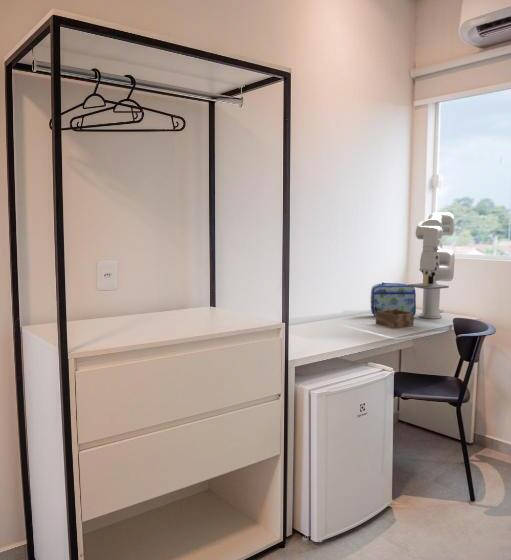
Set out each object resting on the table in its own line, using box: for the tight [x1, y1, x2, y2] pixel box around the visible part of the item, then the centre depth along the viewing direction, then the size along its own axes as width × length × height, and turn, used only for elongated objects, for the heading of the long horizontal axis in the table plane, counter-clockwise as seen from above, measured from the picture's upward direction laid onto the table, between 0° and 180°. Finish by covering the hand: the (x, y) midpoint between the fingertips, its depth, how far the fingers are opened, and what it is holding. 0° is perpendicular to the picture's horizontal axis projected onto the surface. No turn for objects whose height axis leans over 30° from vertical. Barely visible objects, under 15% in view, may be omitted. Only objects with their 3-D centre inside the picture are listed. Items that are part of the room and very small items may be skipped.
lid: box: [408, 273, 450, 290], centre depth 287 cm, size 15×15×7 cm
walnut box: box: [375, 309, 415, 329], centre depth 287 cm, size 14×14×8 cm
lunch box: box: [370, 281, 417, 318], centre depth 313 cm, size 26×11×21 cm, turn 84°
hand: (428, 283), depth 287 cm, fingers closed on lid, 2 cm apart
